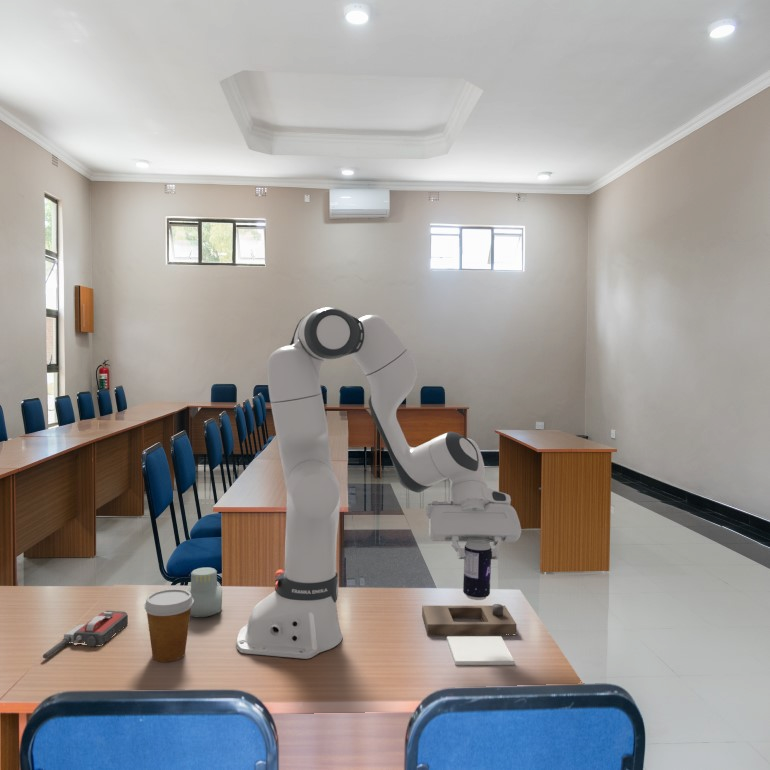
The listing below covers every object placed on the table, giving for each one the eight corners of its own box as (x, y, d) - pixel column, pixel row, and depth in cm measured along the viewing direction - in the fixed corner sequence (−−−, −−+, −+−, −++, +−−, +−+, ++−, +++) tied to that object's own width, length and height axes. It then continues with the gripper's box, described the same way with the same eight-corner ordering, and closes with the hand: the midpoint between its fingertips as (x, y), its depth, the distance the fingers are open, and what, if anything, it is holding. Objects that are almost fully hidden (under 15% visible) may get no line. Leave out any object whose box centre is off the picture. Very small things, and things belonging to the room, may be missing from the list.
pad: (455, 665, 123) (455, 661, 123) (446, 640, 134) (446, 636, 134) (514, 664, 124) (514, 660, 124) (500, 639, 135) (501, 636, 135)
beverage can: (489, 602, 129) (491, 545, 129) (462, 600, 130) (464, 543, 130) (489, 593, 134) (491, 538, 134) (463, 590, 135) (465, 536, 135)
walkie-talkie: (96, 620, 141) (38, 663, 122) (96, 601, 141) (38, 641, 121) (132, 623, 141) (81, 666, 121) (132, 604, 140) (81, 644, 120)
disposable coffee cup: (189, 664, 121) (190, 604, 121) (138, 667, 120) (139, 607, 119) (196, 642, 131) (196, 587, 130) (149, 645, 129) (149, 589, 129)
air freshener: (220, 620, 142) (221, 578, 142) (183, 623, 140) (183, 580, 140) (222, 602, 153) (222, 562, 152) (187, 604, 151) (187, 564, 150)
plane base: (427, 635, 136) (427, 615, 136) (422, 615, 147) (422, 597, 147) (516, 635, 138) (516, 615, 137) (504, 615, 148) (505, 597, 148)
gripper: (427, 493, 138) (431, 550, 128) (516, 495, 139) (528, 551, 130) (423, 508, 142) (428, 564, 133) (510, 510, 144) (521, 565, 134)
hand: (478, 558), depth 131 cm, fingers closed on beverage can, 6 cm apart
